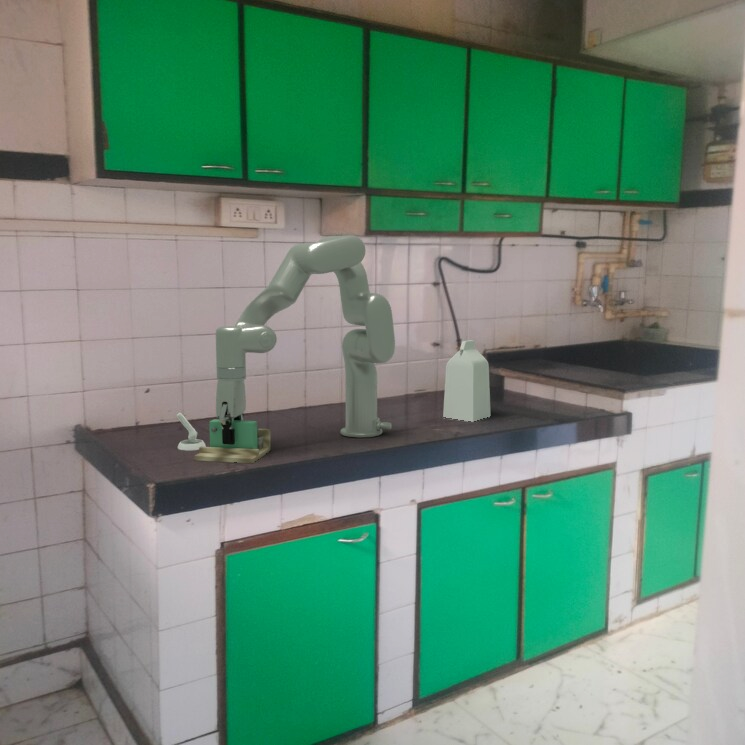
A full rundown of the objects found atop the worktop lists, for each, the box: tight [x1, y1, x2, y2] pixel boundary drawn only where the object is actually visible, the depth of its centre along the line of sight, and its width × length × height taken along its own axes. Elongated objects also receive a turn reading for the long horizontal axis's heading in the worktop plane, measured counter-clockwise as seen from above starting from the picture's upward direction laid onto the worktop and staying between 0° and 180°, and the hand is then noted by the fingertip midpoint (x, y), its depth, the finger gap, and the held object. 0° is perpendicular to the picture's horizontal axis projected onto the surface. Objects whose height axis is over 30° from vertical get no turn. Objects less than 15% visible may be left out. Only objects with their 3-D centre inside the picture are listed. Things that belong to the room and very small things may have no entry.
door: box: [208, 418, 258, 449], centre depth 191 cm, size 12×4×8 cm, turn 79°
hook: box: [176, 412, 207, 451], centre depth 201 cm, size 8×12×7 cm
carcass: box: [193, 426, 272, 464], centre depth 191 cm, size 16×14×7 cm
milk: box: [442, 339, 491, 423], centre depth 243 cm, size 12×12×26 cm
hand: (233, 440), depth 191 cm, fingers open, 5 cm apart
